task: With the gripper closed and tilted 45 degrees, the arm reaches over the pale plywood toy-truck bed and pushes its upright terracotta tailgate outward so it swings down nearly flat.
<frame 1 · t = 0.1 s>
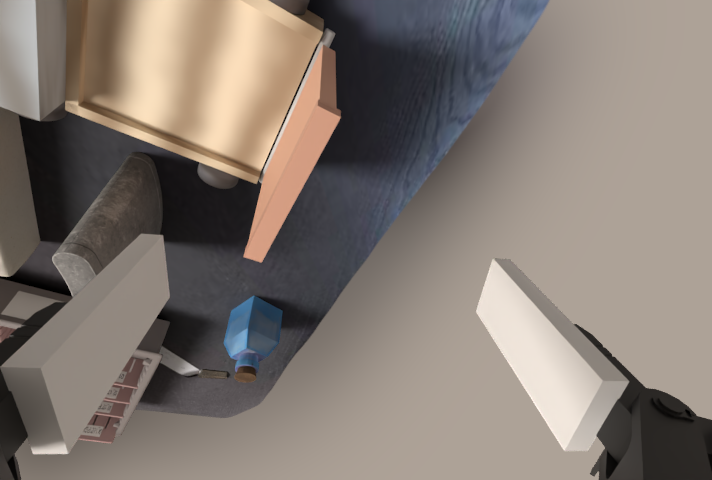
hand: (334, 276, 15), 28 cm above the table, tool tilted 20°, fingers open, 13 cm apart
organizer tray: (62, 343, 68), on the table
perfume bottle: (257, 309, 63), on the table
tailgate: (290, 151, 32), point 9 cm above the table, hinge at 0.0°
flask: (149, 200, 46), on the table
block: (213, 370, 79), on the table
truck bed: (199, 57, 35), on the table
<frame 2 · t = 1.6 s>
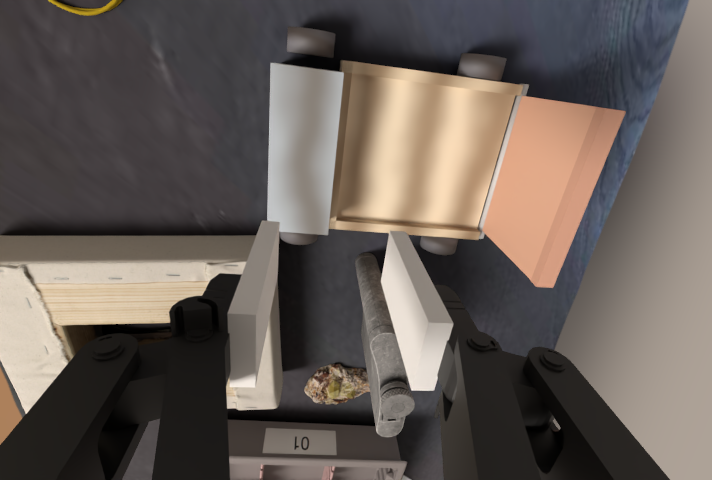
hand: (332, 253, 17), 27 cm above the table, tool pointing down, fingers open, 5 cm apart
mineral rock: (340, 379, 57), on the table
tailgate: (532, 183, 35), point 9 cm above the table, hinge at 0.0°
flask: (371, 297, 50), on the table
box: (162, 309, 49), on the table
truck bed: (410, 152, 42), on the table
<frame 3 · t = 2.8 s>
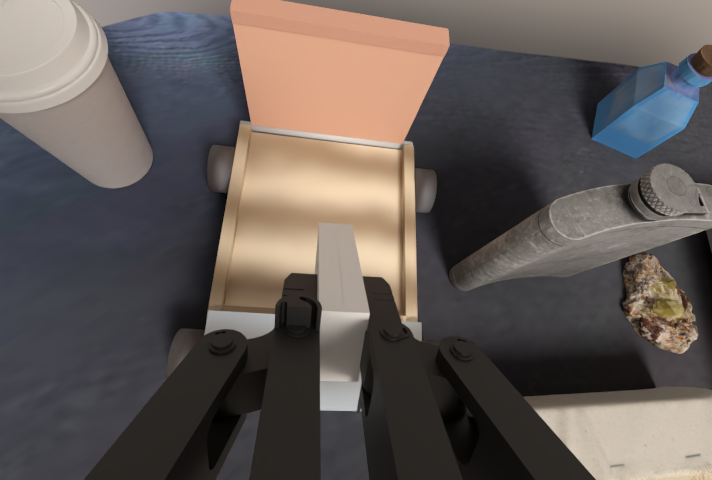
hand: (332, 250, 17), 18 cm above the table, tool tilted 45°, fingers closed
mineral rock: (647, 302, 40), on the table
perfume bottle: (614, 131, 47), on the table
tailgate: (335, 89, 31), point 9 cm above the table, hinge at 0.0°
coffee cup: (118, 159, 36), on the table
flask: (510, 267, 39), on the table
truck bed: (320, 235, 36), on the table
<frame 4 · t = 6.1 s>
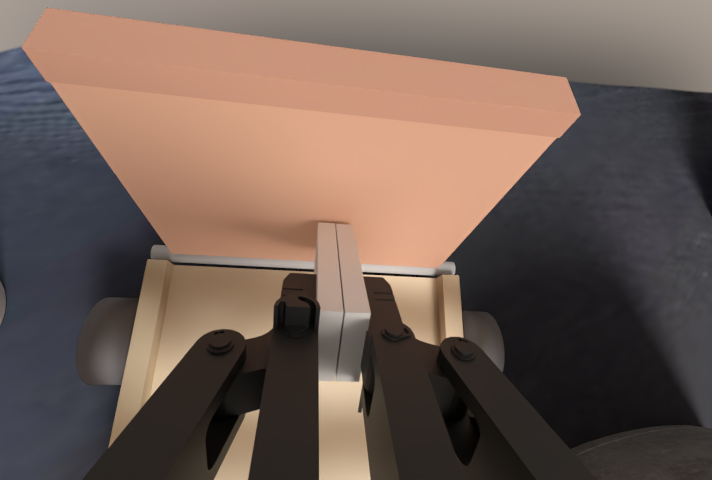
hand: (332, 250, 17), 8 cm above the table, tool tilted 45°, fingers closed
tailgate: (317, 196, 16), point 9 cm above the table, hinge at 8.7°, touching gripper
flask: (617, 462, 23), on the table
truck bed: (301, 436, 21), on the table
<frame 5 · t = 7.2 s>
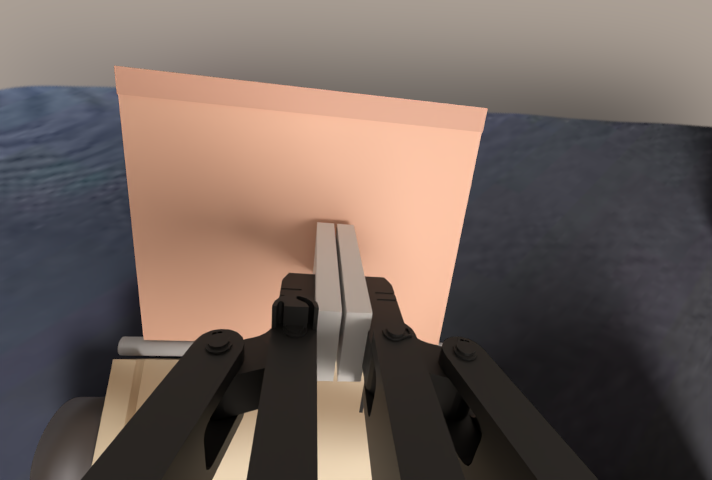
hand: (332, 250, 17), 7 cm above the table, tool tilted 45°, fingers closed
tailgate: (305, 235, 18), point 6 cm above the table, hinge at 53.5°, touching gripper
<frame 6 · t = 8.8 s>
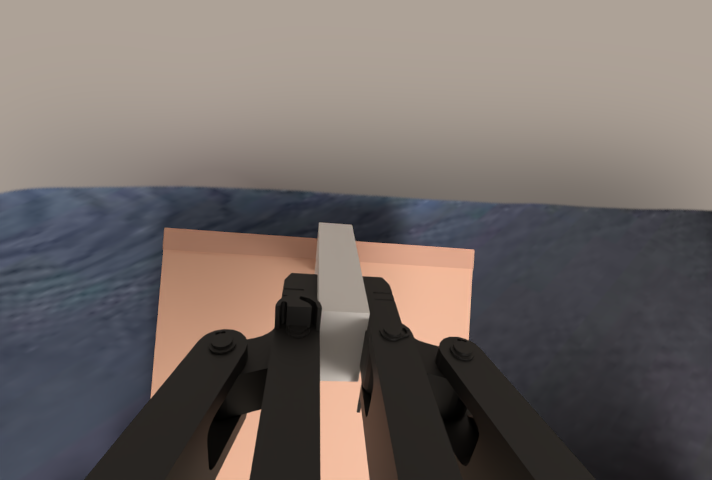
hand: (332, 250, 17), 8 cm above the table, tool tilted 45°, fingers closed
tailgate: (318, 371, 18), point 4 cm above the table, hinge at 72.3°, touching gripper
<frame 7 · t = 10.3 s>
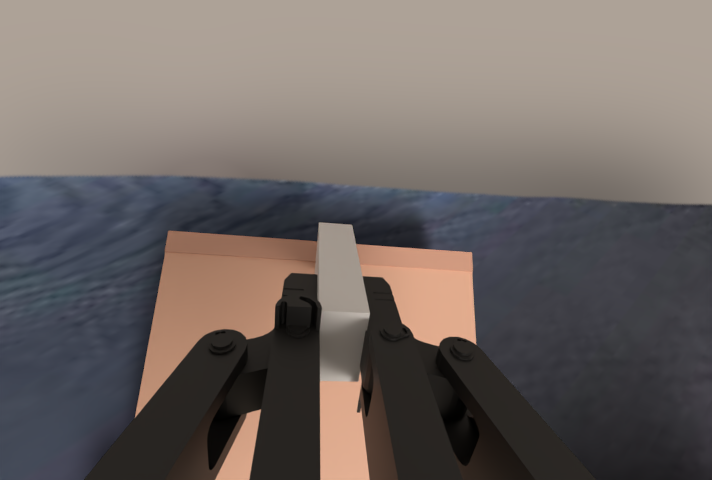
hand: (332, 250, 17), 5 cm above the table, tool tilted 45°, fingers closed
tailgate: (319, 382, 17), point 3 cm above the table, hinge at 86.3°, touching gripper
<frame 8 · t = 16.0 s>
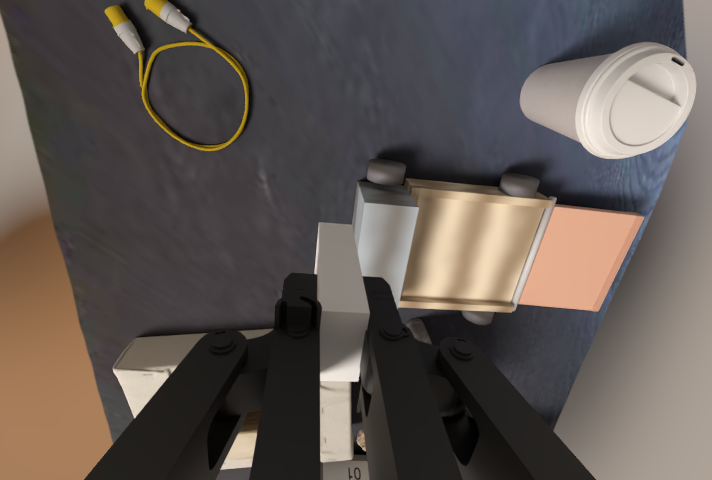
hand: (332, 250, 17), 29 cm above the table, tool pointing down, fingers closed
extension cord: (191, 76, 40), on the table
mineral rock: (384, 430, 68), on the table
tailgate: (571, 260, 51), point 3 cm above the table, hinge at 86.4°
coffee cup: (545, 93, 44), on the table
flask: (416, 352, 60), on the table
box: (254, 381, 60), on the table
truck bed: (456, 242, 51), on the table
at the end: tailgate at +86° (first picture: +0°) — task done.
